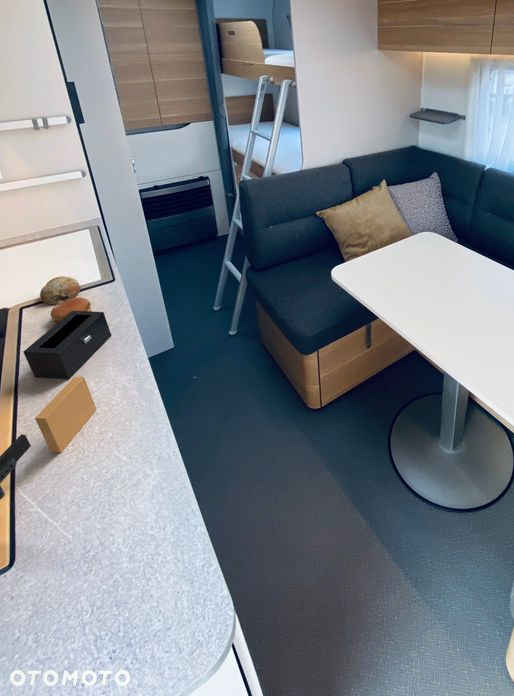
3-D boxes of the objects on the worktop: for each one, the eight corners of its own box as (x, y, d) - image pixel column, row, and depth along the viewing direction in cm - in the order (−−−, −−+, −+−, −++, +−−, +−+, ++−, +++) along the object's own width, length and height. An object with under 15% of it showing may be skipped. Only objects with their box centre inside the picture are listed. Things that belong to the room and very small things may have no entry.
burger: (87, 323, 116) (82, 310, 114) (49, 332, 113) (43, 318, 112) (96, 303, 125) (91, 291, 123) (60, 311, 122) (55, 298, 120)
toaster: (34, 377, 98) (23, 351, 95) (80, 334, 112) (71, 310, 109) (71, 379, 98) (61, 353, 95) (113, 335, 112) (105, 311, 108)
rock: (48, 316, 125) (43, 301, 120) (37, 292, 129) (31, 277, 124) (86, 301, 132) (82, 286, 127) (74, 279, 136) (70, 264, 131)
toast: (50, 452, 81) (34, 418, 77) (87, 408, 90) (74, 376, 86) (61, 453, 81) (45, 418, 77) (96, 409, 90) (84, 376, 86)
